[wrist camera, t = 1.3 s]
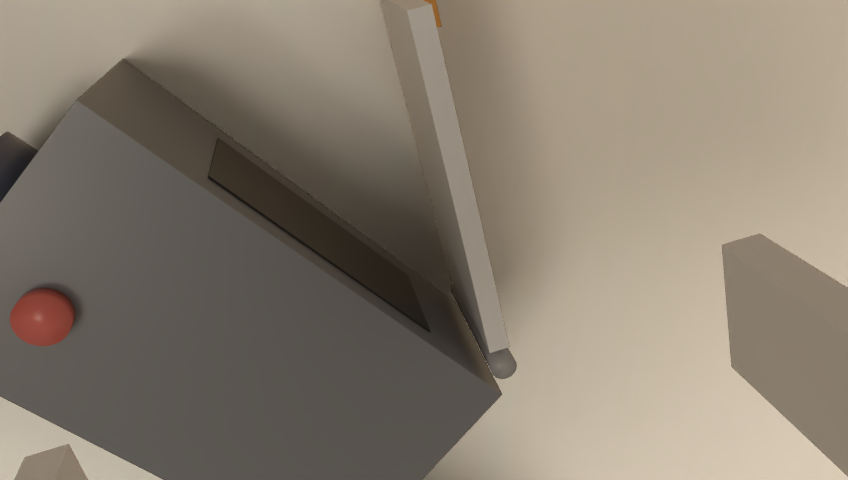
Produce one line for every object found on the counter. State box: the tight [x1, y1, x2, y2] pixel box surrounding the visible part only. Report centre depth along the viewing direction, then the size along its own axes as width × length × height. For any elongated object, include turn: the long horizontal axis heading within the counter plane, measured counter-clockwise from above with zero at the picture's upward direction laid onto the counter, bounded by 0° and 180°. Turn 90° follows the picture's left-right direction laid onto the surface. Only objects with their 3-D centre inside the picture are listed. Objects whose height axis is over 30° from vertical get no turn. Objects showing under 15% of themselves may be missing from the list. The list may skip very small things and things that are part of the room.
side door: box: [380, 0, 517, 379], centre depth 30 cm, size 14×2×7 cm, turn 13°
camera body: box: [0, 59, 502, 480], centre depth 30 cm, size 19×10×9 cm, turn 48°
